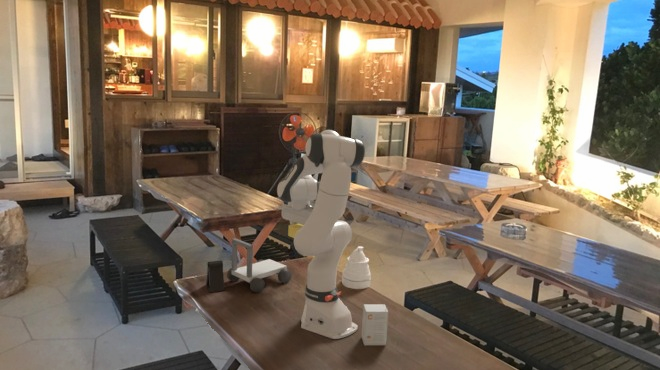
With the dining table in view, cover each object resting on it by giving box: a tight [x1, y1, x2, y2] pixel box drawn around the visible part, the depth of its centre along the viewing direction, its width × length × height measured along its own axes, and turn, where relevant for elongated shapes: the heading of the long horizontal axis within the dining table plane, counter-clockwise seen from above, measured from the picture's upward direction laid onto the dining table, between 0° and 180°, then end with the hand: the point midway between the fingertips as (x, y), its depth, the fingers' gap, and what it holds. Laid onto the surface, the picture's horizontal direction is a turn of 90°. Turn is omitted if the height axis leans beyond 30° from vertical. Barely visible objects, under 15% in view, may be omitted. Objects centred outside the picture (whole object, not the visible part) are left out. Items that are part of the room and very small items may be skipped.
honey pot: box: [341, 245, 372, 290], centre depth 245 cm, size 13×13×18 cm
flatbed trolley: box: [226, 238, 293, 294], centre depth 241 cm, size 22×18×21 cm
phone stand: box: [205, 260, 225, 293], centre depth 232 cm, size 9×6×12 cm, turn 25°
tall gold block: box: [287, 223, 303, 239], centre depth 244 cm, size 5×8×5 cm, turn 135°
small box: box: [361, 303, 389, 346], centre depth 193 cm, size 8×6×13 cm
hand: (298, 232), depth 244 cm, fingers closed on tall gold block, 5 cm apart
